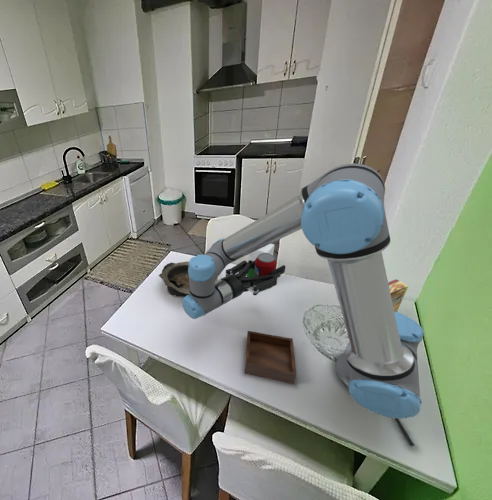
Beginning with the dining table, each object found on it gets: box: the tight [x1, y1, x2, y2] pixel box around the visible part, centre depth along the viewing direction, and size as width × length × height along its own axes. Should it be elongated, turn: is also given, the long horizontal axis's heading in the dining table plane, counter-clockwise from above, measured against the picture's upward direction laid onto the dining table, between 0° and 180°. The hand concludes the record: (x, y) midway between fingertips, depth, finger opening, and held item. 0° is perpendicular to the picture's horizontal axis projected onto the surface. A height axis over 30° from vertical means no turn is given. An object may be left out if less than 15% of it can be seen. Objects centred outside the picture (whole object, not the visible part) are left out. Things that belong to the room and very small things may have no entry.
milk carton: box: [246, 243, 275, 277], centre depth 117 cm, size 9×9×20 cm
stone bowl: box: [158, 261, 219, 298], centre depth 121 cm, size 25×25×9 cm
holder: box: [244, 330, 297, 385], centre depth 87 cm, size 14×14×4 cm
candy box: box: [388, 278, 410, 312], centre depth 92 cm, size 9×4×15 cm, turn 110°
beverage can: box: [254, 253, 277, 290], centre depth 97 cm, size 7×7×12 cm
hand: (274, 264), depth 98 cm, fingers closed on beverage can, 7 cm apart
